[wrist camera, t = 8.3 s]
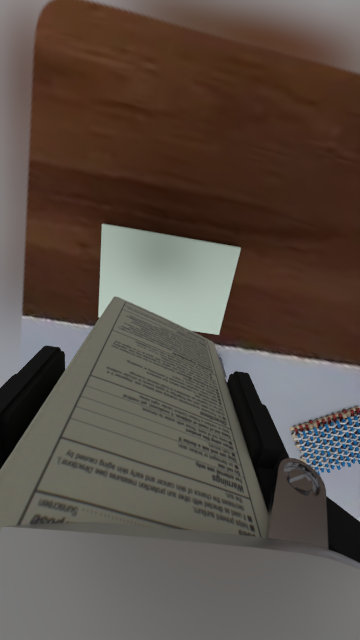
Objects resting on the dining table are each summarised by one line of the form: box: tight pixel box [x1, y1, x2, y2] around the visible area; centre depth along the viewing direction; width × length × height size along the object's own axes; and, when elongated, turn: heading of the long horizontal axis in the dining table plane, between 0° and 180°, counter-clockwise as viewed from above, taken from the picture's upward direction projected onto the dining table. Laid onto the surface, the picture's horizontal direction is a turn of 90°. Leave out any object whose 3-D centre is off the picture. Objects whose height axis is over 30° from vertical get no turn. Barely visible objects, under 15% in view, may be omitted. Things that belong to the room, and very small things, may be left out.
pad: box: [98, 223, 241, 335], centre depth 27 cm, size 14×10×1 cm
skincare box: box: [0, 297, 268, 538], centre depth 8 cm, size 6×4×12 cm
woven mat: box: [290, 406, 360, 475], centre depth 37 cm, size 10×11×2 cm
